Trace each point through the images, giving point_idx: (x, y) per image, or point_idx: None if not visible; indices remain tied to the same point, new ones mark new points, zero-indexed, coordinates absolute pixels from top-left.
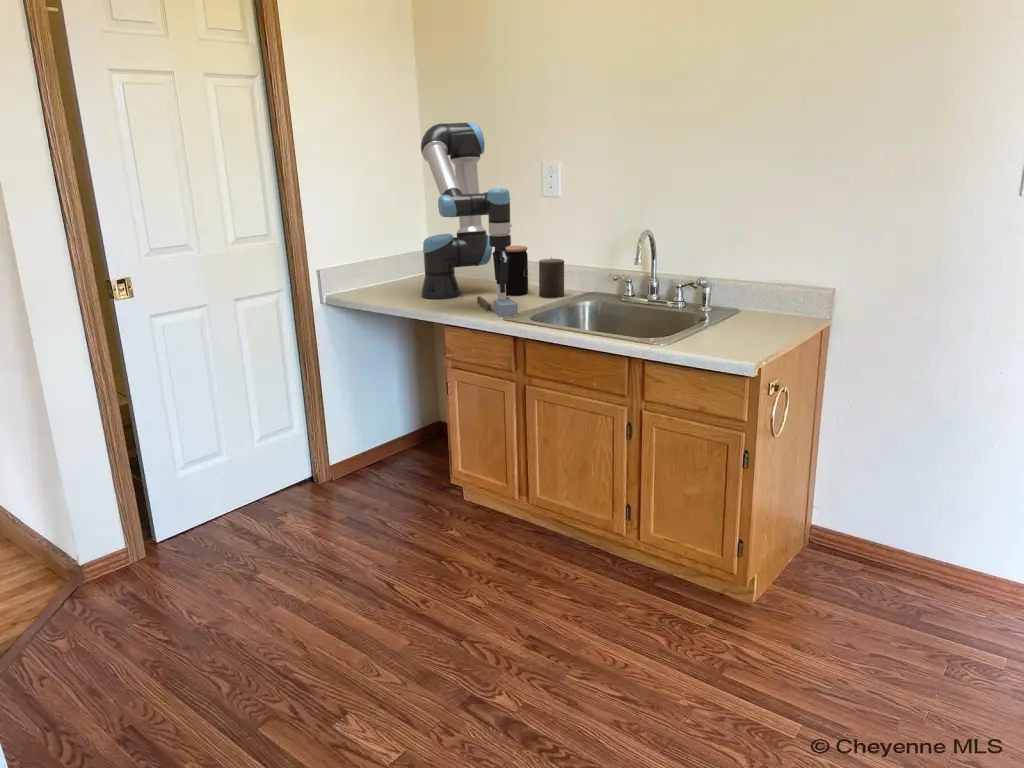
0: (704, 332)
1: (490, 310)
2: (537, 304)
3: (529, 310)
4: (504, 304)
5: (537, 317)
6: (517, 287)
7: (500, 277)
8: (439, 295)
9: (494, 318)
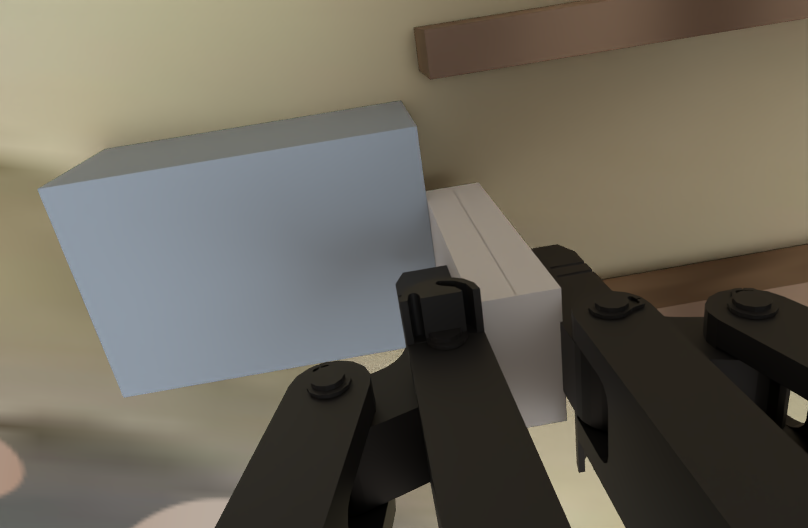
0: None
1: (418, 59)
2: (597, 508)
3: None
4: (100, 246)
5: (84, 475)
6: None
7: (304, 455)
8: None
9: (57, 67)
